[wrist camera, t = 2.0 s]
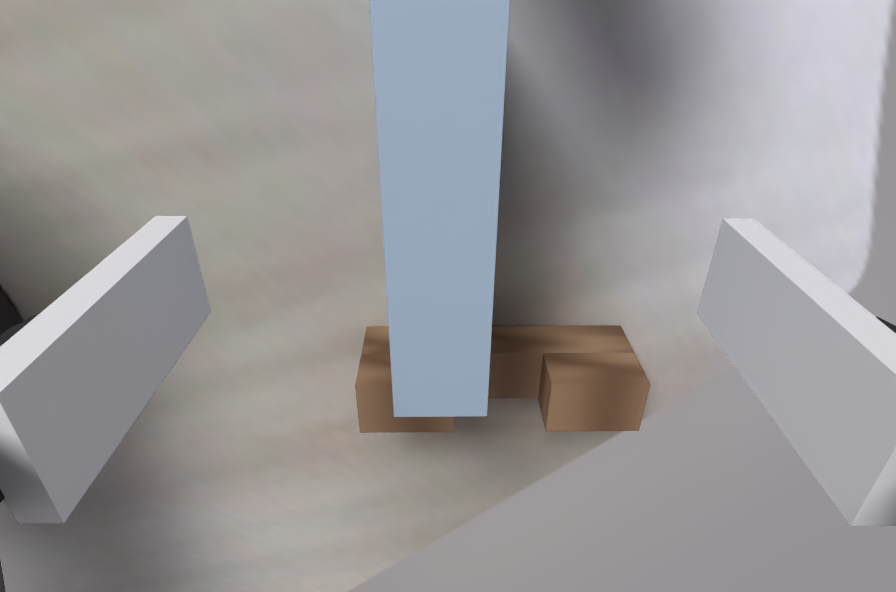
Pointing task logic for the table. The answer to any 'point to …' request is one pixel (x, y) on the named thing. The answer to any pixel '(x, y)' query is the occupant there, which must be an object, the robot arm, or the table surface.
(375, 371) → the walnut u-shaped block
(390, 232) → the pale blue upright slab
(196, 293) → the robot arm
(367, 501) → the table surface
